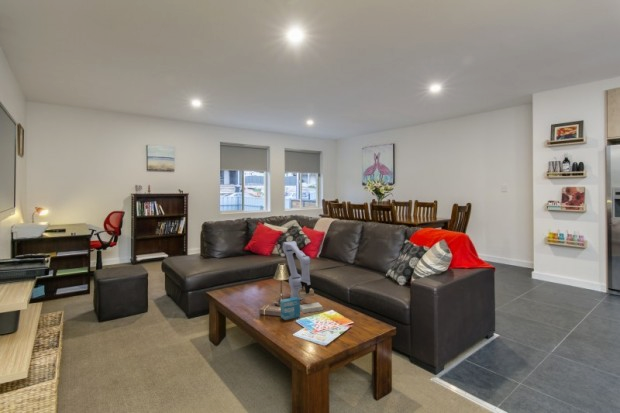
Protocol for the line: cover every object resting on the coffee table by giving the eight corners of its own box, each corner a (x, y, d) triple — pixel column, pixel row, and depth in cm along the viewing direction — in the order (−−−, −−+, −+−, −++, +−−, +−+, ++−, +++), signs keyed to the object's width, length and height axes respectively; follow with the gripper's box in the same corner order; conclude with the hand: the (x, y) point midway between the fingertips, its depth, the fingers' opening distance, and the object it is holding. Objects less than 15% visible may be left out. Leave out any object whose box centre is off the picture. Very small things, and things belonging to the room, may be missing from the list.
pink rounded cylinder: (302, 290, 228) (302, 286, 228) (307, 289, 229) (307, 285, 229) (304, 291, 224) (304, 287, 224) (309, 291, 226) (309, 287, 226)
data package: (283, 320, 200) (282, 302, 199) (280, 318, 204) (280, 299, 203) (300, 316, 205) (300, 298, 205) (297, 314, 209) (297, 296, 209)
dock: (299, 308, 219) (299, 304, 219) (318, 305, 224) (318, 302, 224) (303, 313, 211) (303, 309, 211) (323, 310, 216) (322, 306, 215)
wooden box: (298, 295, 228) (298, 289, 228) (311, 293, 231) (311, 288, 231) (300, 297, 223) (300, 292, 223) (313, 295, 226) (313, 290, 226)
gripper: (297, 271, 232) (297, 290, 232) (303, 276, 218) (303, 296, 219) (306, 270, 234) (306, 288, 235) (313, 275, 220) (313, 294, 221)
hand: (306, 292), depth 227 cm, fingers closed on wooden box, 6 cm apart
